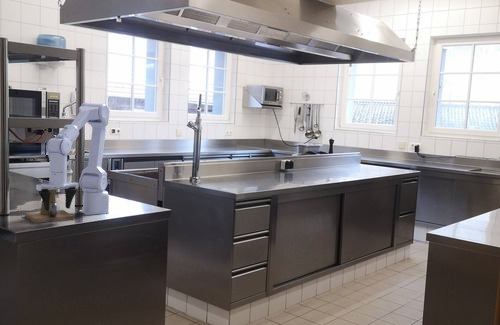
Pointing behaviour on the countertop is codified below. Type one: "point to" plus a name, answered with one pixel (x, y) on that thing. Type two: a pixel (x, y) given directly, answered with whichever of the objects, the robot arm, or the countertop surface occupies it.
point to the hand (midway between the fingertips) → (57, 209)
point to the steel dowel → (53, 209)
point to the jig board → (39, 218)
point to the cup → (69, 178)
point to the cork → (51, 200)
